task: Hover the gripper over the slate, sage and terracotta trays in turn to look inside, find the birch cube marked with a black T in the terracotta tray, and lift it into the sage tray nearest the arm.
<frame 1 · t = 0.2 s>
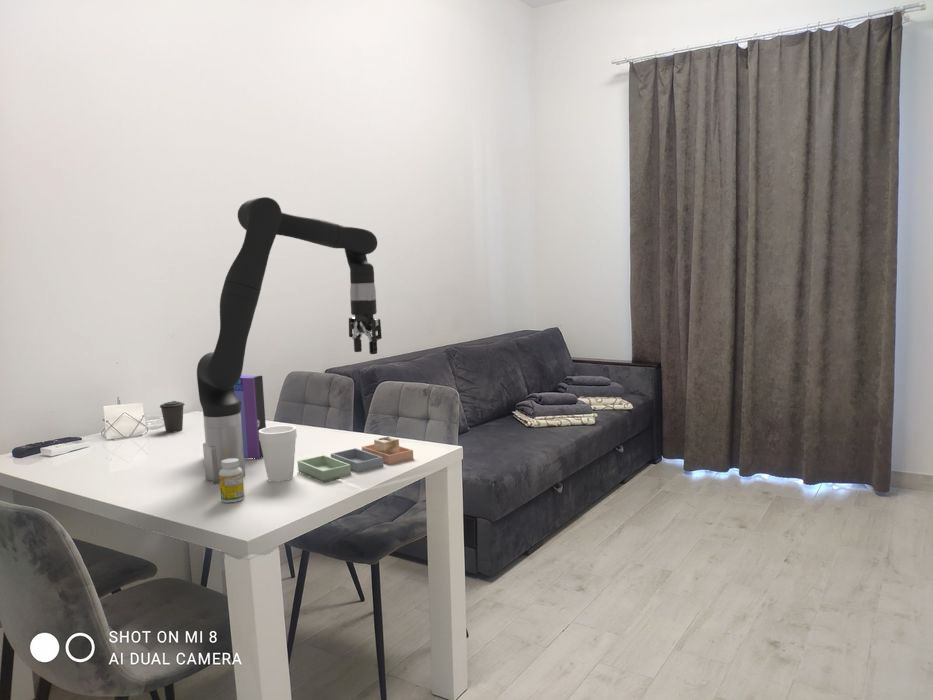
hand: (365, 352, 210), 29 cm above the table, tool pointing down, fingers open, 8 cm apart
terracotta tray: (387, 458, 198), on the table
coffee cup: (174, 431, 245), on the table
foam cup: (280, 478, 183), on the table
sage tray: (324, 473, 186), on the table
cereal box: (237, 456, 207), on the table
slate tray: (356, 466, 192), on the table
supplement bottle: (232, 500, 167), on the table
letter cube: (387, 456, 198), point 1 cm above the table, touching terracotta tray
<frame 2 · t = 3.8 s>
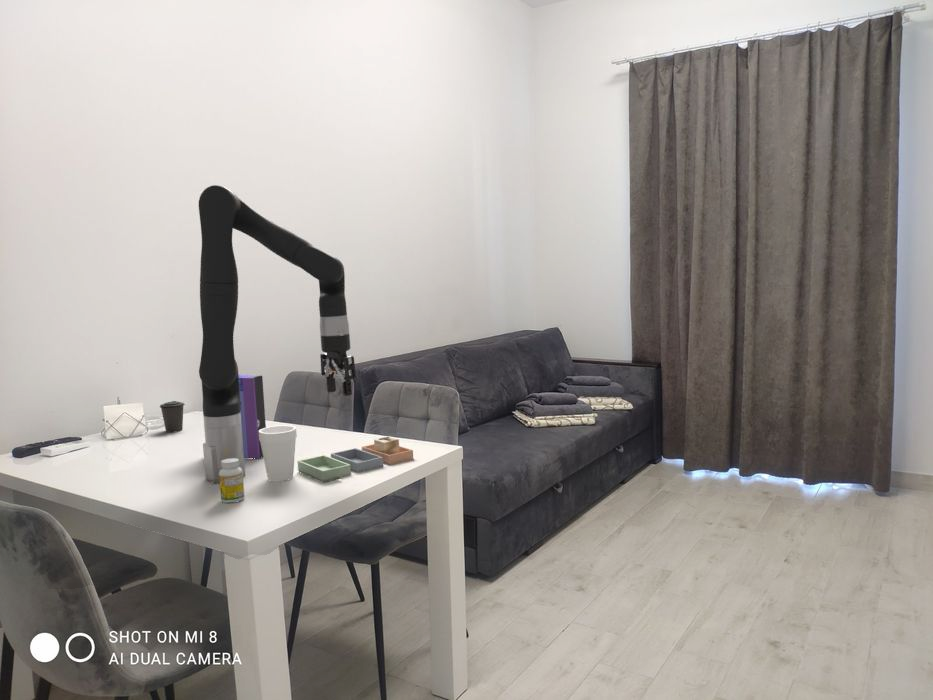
hand: (339, 393, 187), 21 cm above the table, tool pointing down, fingers open, 8 cm apart
nothing on the table moved.
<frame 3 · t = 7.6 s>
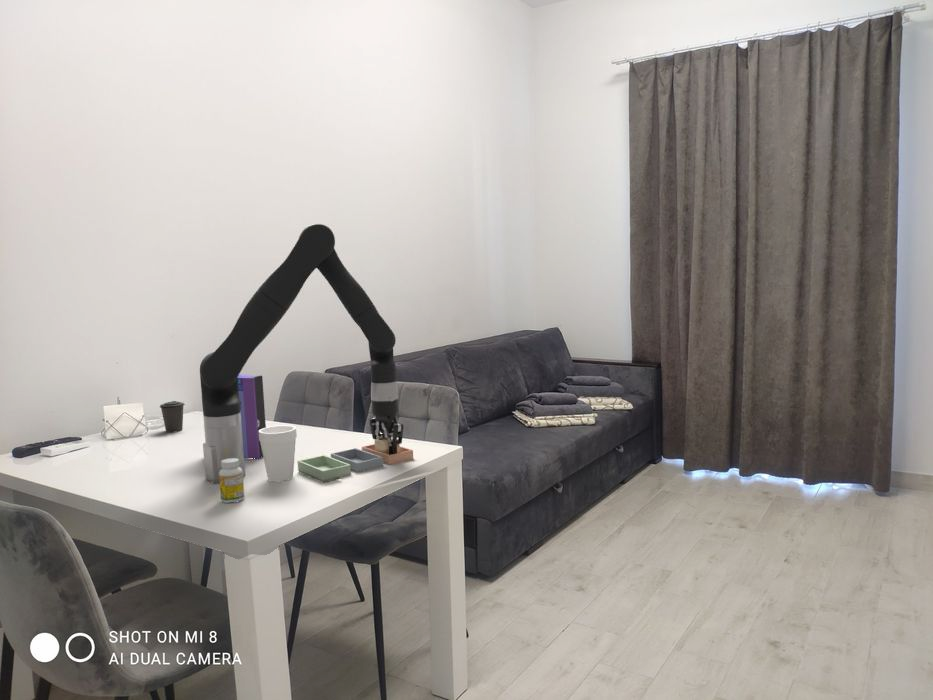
hand: (387, 456, 198), 1 cm above the table, tool pointing down, fingers closed on letter cube, terracotta tray, 5 cm apart
letter cube: (387, 456, 198), point 1 cm above the table, touching gripper
everything else where it was.
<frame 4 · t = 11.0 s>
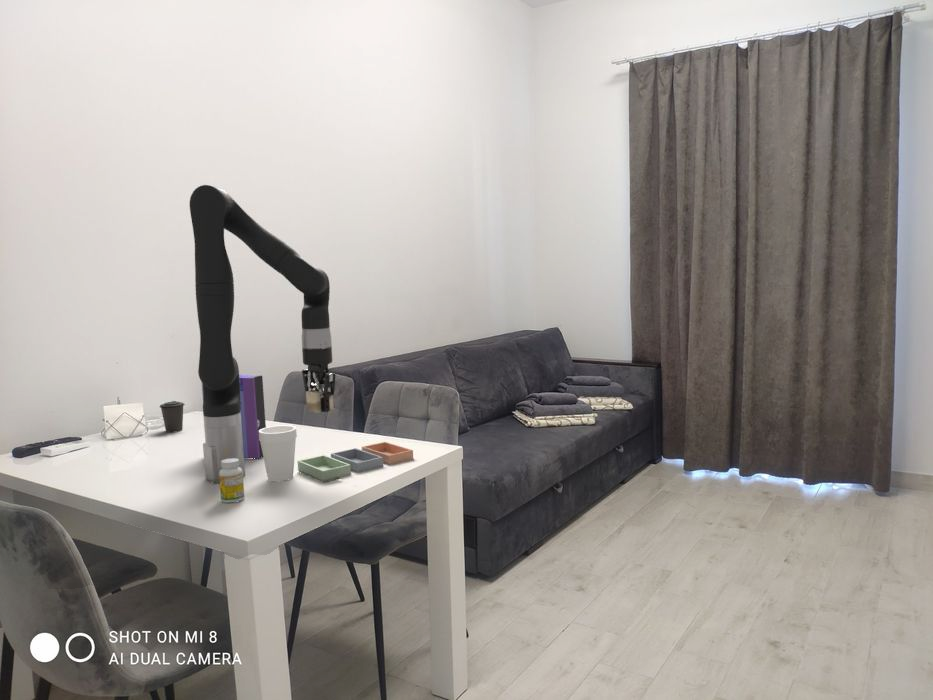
hand: (320, 409, 184), 17 cm above the table, tool pointing down, fingers closed on letter cube, 5 cm apart
letter cube: (320, 410, 184), point 17 cm above the table, touching gripper
everything else where it was.
when the fingers open (2 cm above the table, at t = 14.4 s): letter cube drops 1 cm, resting on sage tray.
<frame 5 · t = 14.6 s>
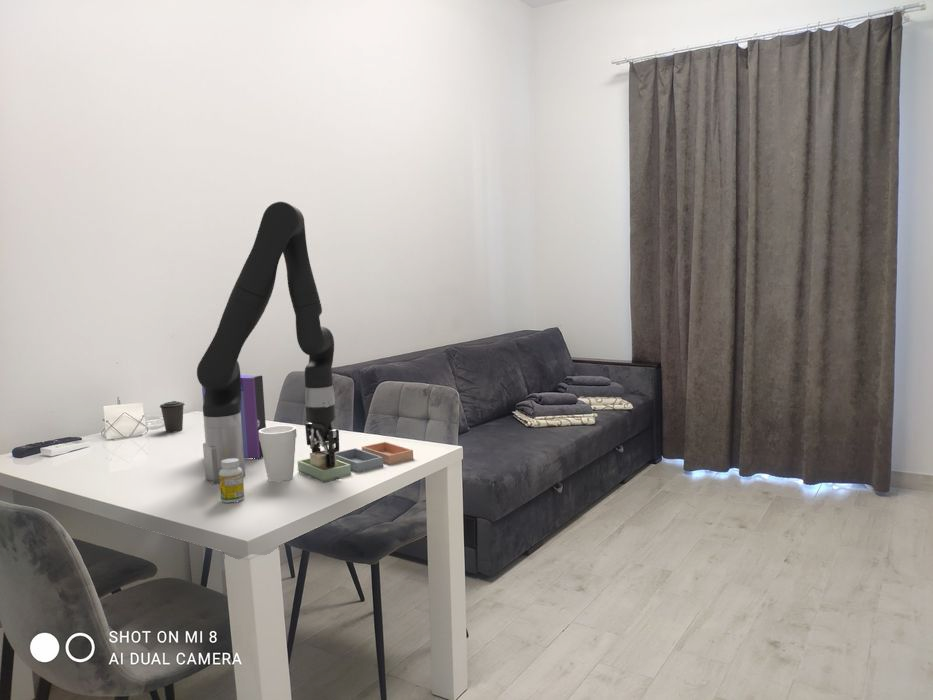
hand: (323, 464, 185), 2 cm above the table, tool pointing down, fingers open, 7 cm apart
letter cube: (324, 471, 186), point 1 cm above the table, touching sage tray
everything else where it was.
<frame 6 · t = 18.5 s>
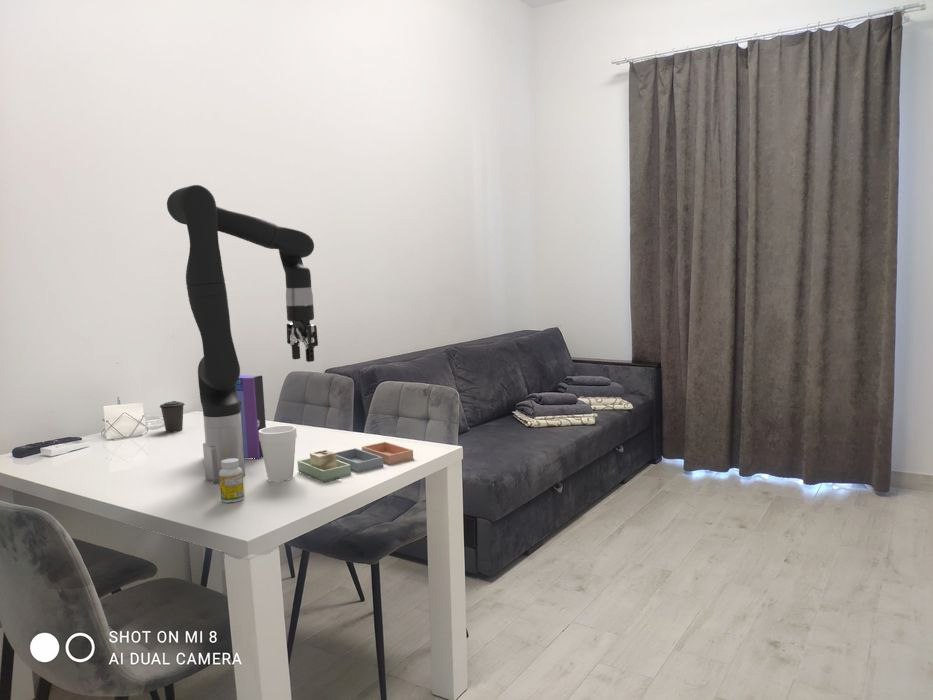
hand: (303, 360, 202), 28 cm above the table, tool pointing down, fingers open, 8 cm apart
nothing on the table moved.
at the end: letter cube 0.1 cm off-centre on the sage tray, point 0.6 cm above the sage tray's base; the gripper is holding nothing; letter cube tilted 0° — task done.
